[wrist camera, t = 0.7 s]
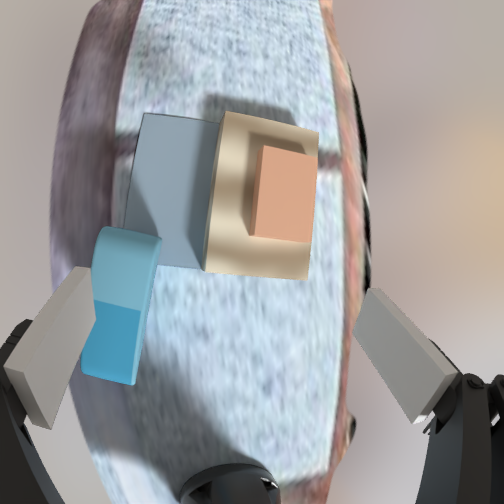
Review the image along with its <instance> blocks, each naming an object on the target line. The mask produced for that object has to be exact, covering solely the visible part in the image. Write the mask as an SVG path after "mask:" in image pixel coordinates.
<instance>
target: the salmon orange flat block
mask: <svg viewBox="0 0 504 504" xmlns="http://www.w3.org/2000/svg"><path fill="white" fill-rule="evenodd" d="M317 162H318V158H317V157H313V156H309V155H305V154H301V153H297V152H292V151H288V150H284V149H279V148H274V147H270V146H265V145H264V146H263V147H262V148H261V149H260V150H259V151H258V155H257V165H256V174H255V183H254V193H253V202H252V211H251V221H250V230H249V236H254V237H262V238H270V239H279V240H286V241H294V242H302V243H308V242H311V241H312V230H313V219H314V207H315V193H316V179H317Z"/></svg>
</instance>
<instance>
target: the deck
mask: <svg viewBox="0 0 504 504" xmlns="http://www.w3.org/2000/svg"><path fill="white" fill-rule="evenodd" d="M318 141H319V132H315V131H312V130H308V129H305V128H301V127H297V126H293V125H289V124H285V123H281V122H277V121H273V120H268V119H264V118H259V117H255V116H250V115H245V114H240V113H235V112H230V111H225V113H224V115H223V117H222V120H221V122H220V124H219V131H218V137H217V144H216V151H215V157H214V165H213V172H212V179H211V187H210V194H209V202H208V211H207V219H206V228H205V237H204V246H203V255H202V265H201V269H202V270H203V271H204V272H210V273H221V274H232V275H244V276H256V277H268V278H281V279H294V280H307V279H308V270H309V260H310V250H311V242H308V243H302V242H294V241H286V240H279V239H270V238H262V237H254V236H249V230H250V221H251V211H252V202H253V193H254V183H255V174H256V165H257V155H258V151H259V150H260V149H261V148H262V147H263V146H264V145H265V146H270V147H274V148H279V149H284V150H288V151H292V152H297V153H301V154H305V155H309V156H313V157H317V158H318Z"/></svg>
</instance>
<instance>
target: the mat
mask: <svg viewBox="0 0 504 504" xmlns="http://www.w3.org/2000/svg"><path fill="white" fill-rule="evenodd" d="M218 131H219V123H213V122H207V121H200V120H194V119H186V118H179V117H171V116H162V115H153V114H144V118H143V122H142V126H141V131H140V135H139V140H138V144H137V149H136V154H135V159H134V164H133V170H132V176H131V181H130V187H129V194H128V200H127V207H126V215H125V222H124V229H127V230H132V231H136V232H140V233H144V234H149V235H153V236H157V237H161V238H162V245H161V249H160V254H159V259H158V263H157V265H164V266H174V267H184V268H194V269H201V265H202V255H203V246H204V237H205V228H206V219H207V211H208V202H209V194H210V187H211V179H212V172H213V165H214V157H215V151H216V144H217V137H218Z"/></svg>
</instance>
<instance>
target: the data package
mask: <svg viewBox="0 0 504 504" xmlns="http://www.w3.org/2000/svg"><path fill="white" fill-rule="evenodd" d="M161 245H162V238H161V237H157V236H153V235H149V234H144V233H140V232H136V231H132V230H127V229H123V228H116V227H109V226H105V227H103V228H102V229H101V231H100V232H99V235H98V237H97V240H96V244H95V248H94V253H93V258H92V264H91V281H92V291H93V300H94V308H95V316H96V321H95V323H94V325H93V327H92V329H91V332H90V334H89V336H88V338H87V340H86V343H85V345H84V347H83V349H82V352H81V359H80V366H81V371H82V372H83V373H84V374H87V375H90V376H94V377H98V378H102V379H106V380H110V381H114V382H118V383H123V384H127V385H134V384H135V382H136V377H137V371H138V366H139V360H140V355H141V350H142V345H143V340H144V334H145V328H146V321H147V316H148V310H149V304H150V299H151V293H152V288H153V283H154V278H155V273H156V268H157V263H158V259H159V254H160V249H161Z"/></svg>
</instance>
